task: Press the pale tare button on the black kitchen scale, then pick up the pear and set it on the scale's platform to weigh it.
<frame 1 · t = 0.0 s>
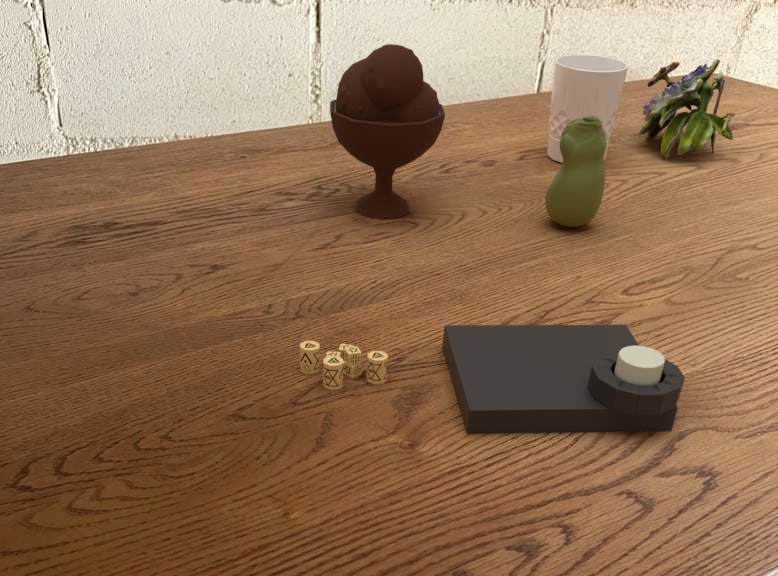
pear: (568, 226, 91), on the table
passion flower: (680, 149, 112), on the table
ice cream bowl: (382, 210, 93), on the table
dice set: (339, 377, 67), on the table
tare button: (639, 366, 61), point 4 cm above the table, slide at 0.1 cm
white cup: (575, 158, 108), on the table
scale: (549, 387, 66), on the table
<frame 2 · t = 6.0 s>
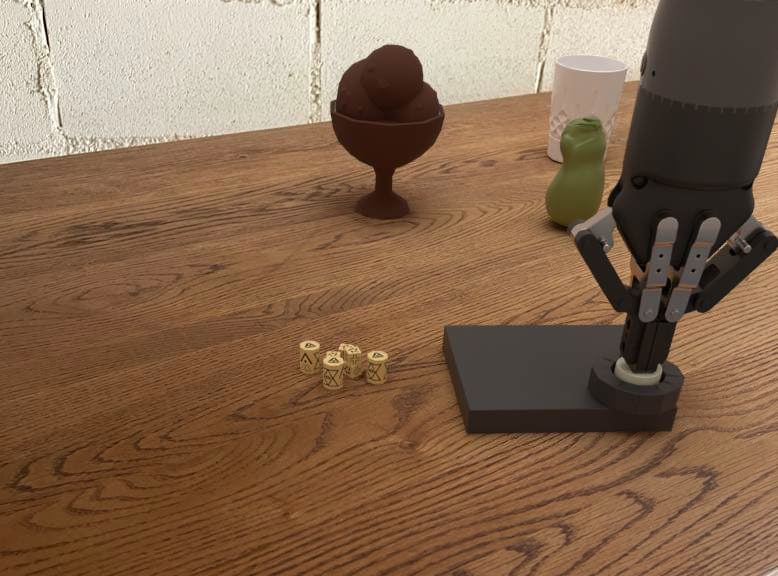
hand: (640, 366, 61), 4 cm above the table, tool pointing down, fingers closed
tare button: (636, 376, 62), point 3 cm above the table, slide at -0.6 cm, touching gripper
everything else where it was.
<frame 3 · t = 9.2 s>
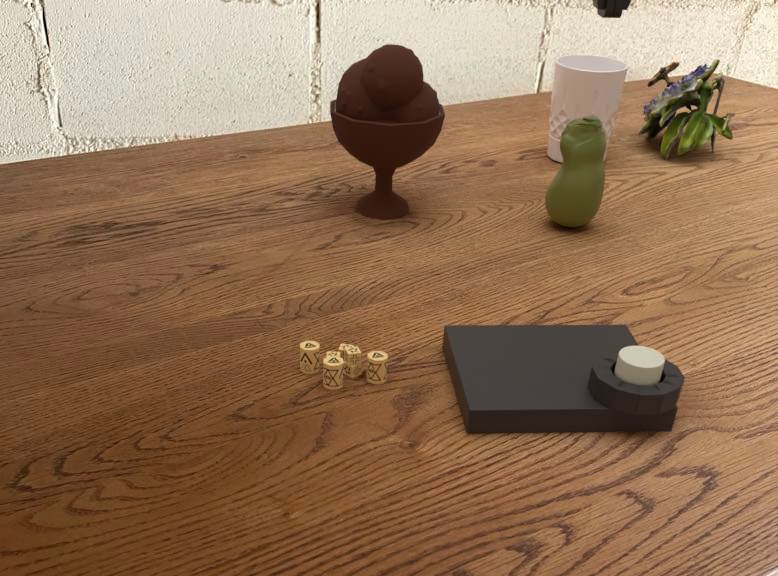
hand: (609, 15, 77), 19 cm above the table, tool pointing down, fingers closed
tare button: (639, 366, 61), point 4 cm above the table, slide at 0.1 cm
everything else where it was.
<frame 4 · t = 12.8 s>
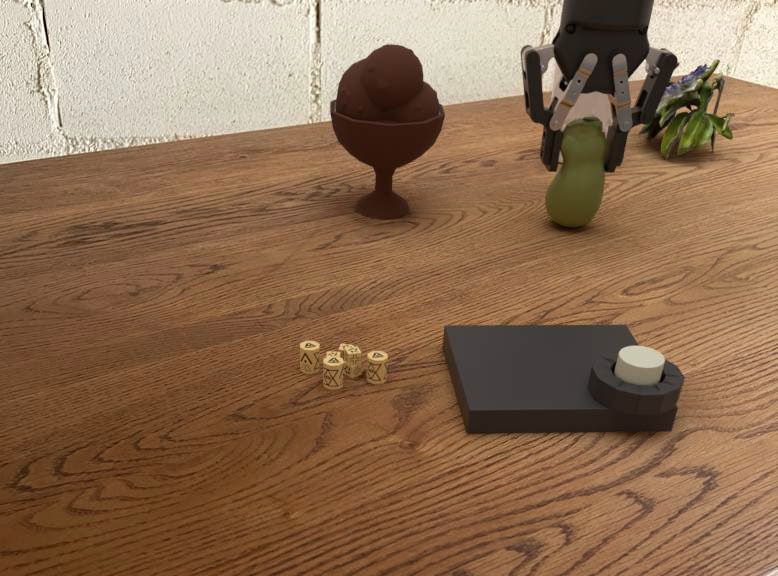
hand: (579, 168, 88), 5 cm above the table, tool pointing down, fingers closed on pear, 5 cm apart
pear: (568, 226, 91), on the table, touching gripper
everything else where it was.
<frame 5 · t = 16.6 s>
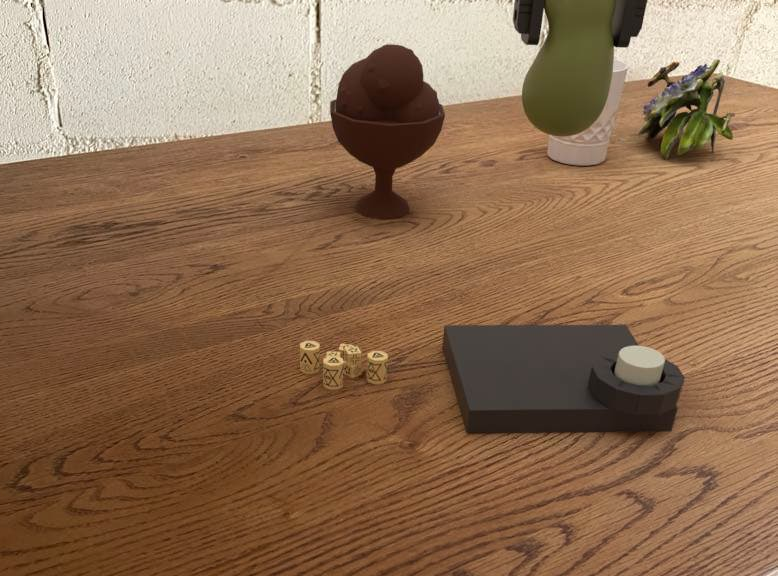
hand: (574, 42, 57), 21 cm above the table, tool pointing down, fingers closed on pear, 5 cm apart
pear: (557, 137, 60), point 16 cm above the table, touching gripper
everything else where it was.
when the fingers open (7 cm above the table, at t = 20.7 s): pear stays where it is, resting on scale.
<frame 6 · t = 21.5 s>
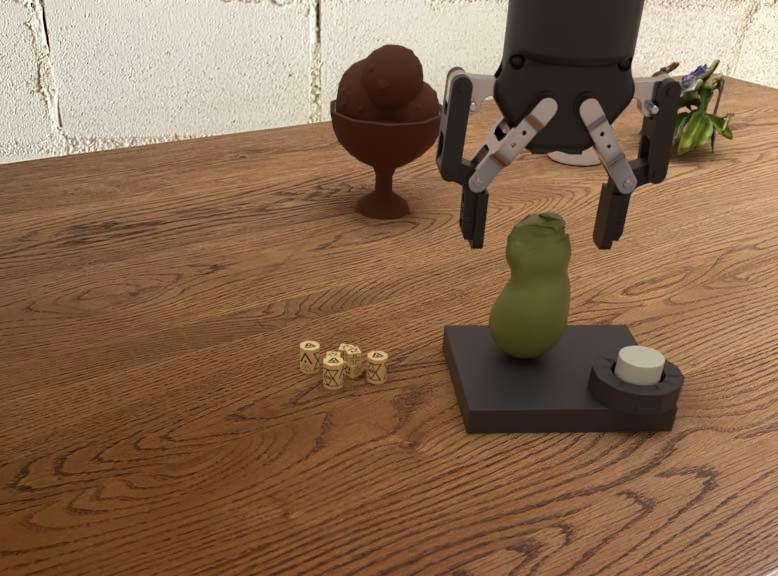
hand: (538, 245, 61), 10 cm above the table, tool pointing down, fingers open, 8 cm apart
pear: (521, 355, 66), point 2 cm above the table, touching scale
everything else where it was.
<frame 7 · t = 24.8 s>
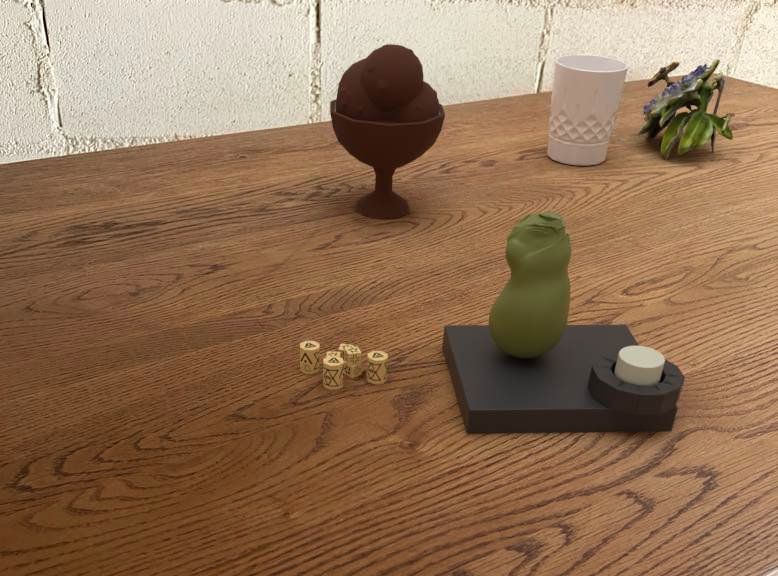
nothing on the table moved.
at the end: tare button pushed in 0.9 cm at the most during the clip, back to where it started at the end; tare button slide at 0.1 cm; pear inside the target area on the scale (2.5 cm from its centre), point 1.7 cm above the scale's base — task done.
